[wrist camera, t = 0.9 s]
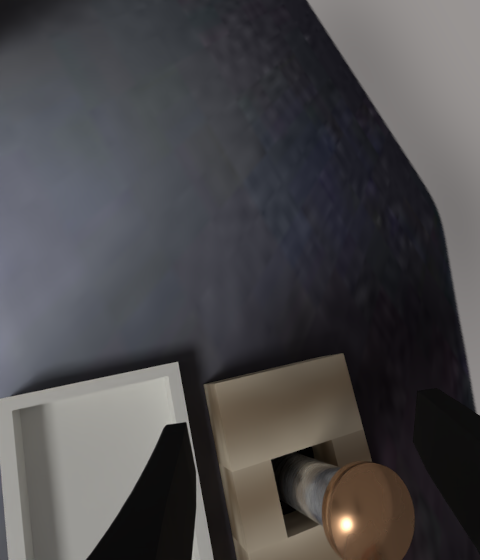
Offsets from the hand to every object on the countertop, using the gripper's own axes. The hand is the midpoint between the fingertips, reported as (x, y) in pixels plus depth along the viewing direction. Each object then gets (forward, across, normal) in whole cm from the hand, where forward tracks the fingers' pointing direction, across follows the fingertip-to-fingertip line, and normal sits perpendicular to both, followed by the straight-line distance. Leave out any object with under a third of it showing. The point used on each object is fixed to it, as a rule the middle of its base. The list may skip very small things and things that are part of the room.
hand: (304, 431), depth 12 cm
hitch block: (+10, -1, +13) cm, 16 cm away
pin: (+10, -1, +13) cm, 16 cm away
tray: (+7, +10, +10) cm, 16 cm away
